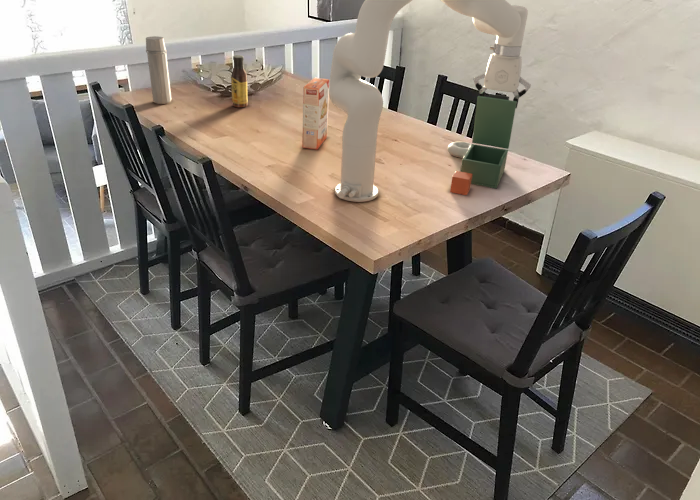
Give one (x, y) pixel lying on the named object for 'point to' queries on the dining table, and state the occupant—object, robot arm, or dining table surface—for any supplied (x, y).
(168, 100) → the water bottle
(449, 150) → the donut
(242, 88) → the sauce bottle
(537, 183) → the dining table surface
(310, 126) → the cracker box
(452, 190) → the block
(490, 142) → the lid
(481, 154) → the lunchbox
